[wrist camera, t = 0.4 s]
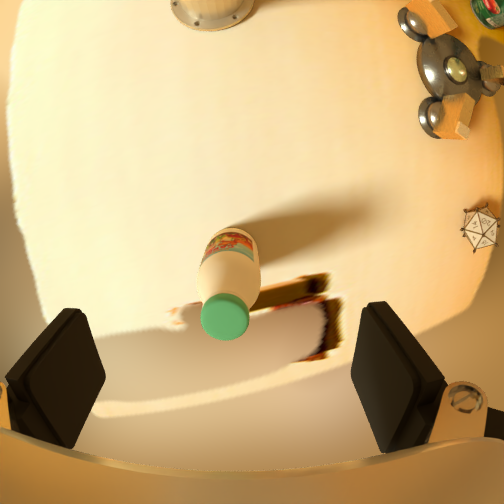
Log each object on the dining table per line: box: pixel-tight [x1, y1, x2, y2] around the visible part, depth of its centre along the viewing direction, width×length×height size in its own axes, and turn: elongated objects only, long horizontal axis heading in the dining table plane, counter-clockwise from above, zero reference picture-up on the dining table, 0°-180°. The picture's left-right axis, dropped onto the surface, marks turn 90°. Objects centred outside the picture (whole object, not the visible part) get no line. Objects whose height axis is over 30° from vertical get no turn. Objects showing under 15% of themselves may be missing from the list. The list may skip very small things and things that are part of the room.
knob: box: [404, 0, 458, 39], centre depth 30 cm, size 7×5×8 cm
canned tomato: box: [470, 0, 504, 29], centre depth 26 cm, size 8×8×11 cm
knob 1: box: [425, 93, 475, 140], centre depth 35 cm, size 7×5×8 cm
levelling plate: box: [398, 7, 496, 139], centre depth 34 cm, size 22×24×4 cm
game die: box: [460, 203, 501, 253], centre depth 42 cm, size 9×8×10 cm
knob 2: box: [479, 64, 504, 91], centre depth 32 cm, size 7×5×8 cm
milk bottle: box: [197, 228, 261, 340], centre depth 37 cm, size 8×8×20 cm
